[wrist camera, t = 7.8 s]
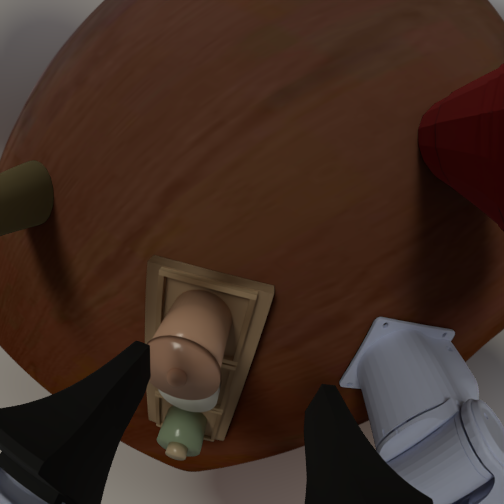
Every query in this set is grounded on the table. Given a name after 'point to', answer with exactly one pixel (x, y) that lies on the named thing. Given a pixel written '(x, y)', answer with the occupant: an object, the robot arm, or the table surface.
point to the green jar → (182, 433)
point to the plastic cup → (469, 142)
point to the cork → (25, 197)
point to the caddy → (239, 340)
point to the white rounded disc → (193, 402)
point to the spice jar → (190, 346)
